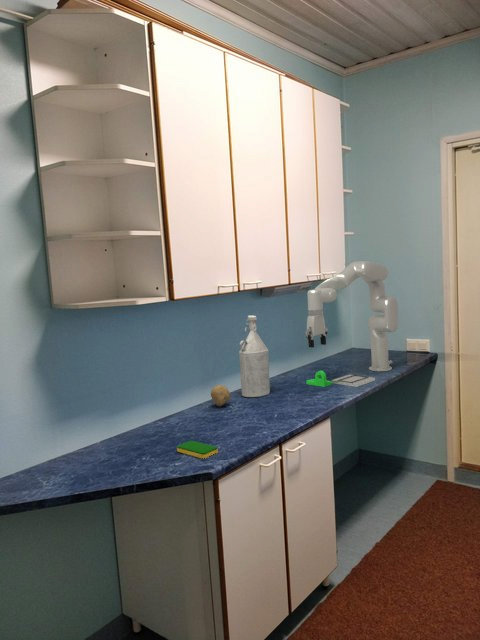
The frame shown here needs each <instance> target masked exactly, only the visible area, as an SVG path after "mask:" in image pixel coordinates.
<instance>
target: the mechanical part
mask: <svg viewBox="0 0 480 640" xmlns="http://www.w3.org/2000/svg"><path fill="white" fill-rule="evenodd" d="M314 375H315V378H312V379H308V380H306V381H305V382H306V385H310V386H317V387H321V388H322V387H323V388H325V387H328V386H332V384H333V383H332V381H331V380H327V374H326V372H324V371H323V370H318V371H317V372H315V374H314Z"/></svg>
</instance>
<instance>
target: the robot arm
mask: <svg viewBox="0 0 480 640" xmlns="http://www.w3.org/2000/svg"><path fill="white" fill-rule="evenodd" d="M388 275H389V271H388V269H387V267H386V266H384V265H383V264H380V263H377V262H373V261H368V260H361V261H359V260H358V261H353V262H351V263H350V264H348V265H347V266H346V267H345V268H344V269H343V270H342V271H340V272H339V273H337V275H334V276H332V277H330V278H328V279H326V280H324V281H323V282H321V283H319V284H318V285H317V286H316V287H315V288H314V289H309V290H308V291H307V310H308V311H307V312H308V316H307V318H306V319H307V320H306V330H305V331H304V334H305V337H306V339H307V342H308V343H307V344H308V348H315V340H314V337H315V336H320V337H319V339H320V345H322V346H323V345H324V346H326V345H327V336H328V330H329V328H328V327H327V326H326V321H325V316H324V303H333V302H335V301H336V299H337V298H338V293H337V291H339V290H343V289H346V288H348V287H349V286H351V285H352V284H353V283H354V282H355V281H356V280H357V279H358V278H361V279H362V280H363V281H364V282H365V283H366V285H367V286H368V290H369V307H370V310H371V311H372V312H375V313H384V314H373V315H371V316H370V317H369V318H368V319H367V320H368V321H367V325H368V330H369V336H370V354H371V356H370V357H371V366H369V367H368V370H369V371H370V372H388V371H392V370H393V369H392V368H393V367H392V366H390V365H391V364H393V360H389V358H390V357H389V338H388V335H387V333H394V332H396V331H397V329H399V328H398V327H399V303H398V301H397V299H396V298H395V296H393V295H386V287H385V284H384V282H383V281H384V280H386V279H387V278H388Z"/></svg>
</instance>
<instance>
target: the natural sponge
mask: <svg viewBox="0 0 480 640" xmlns="http://www.w3.org/2000/svg"><path fill="white" fill-rule="evenodd" d="M210 397H211V400H212V401H213V403H214V404H215V405H216V406H218V407H222V406H224V404H226V403H227V402H229V401H230V399H231V393H230V391H229V389H228V387H226V386H225V385H223V384H217V385H216V386H214V387H212V389H211V390H210Z"/></svg>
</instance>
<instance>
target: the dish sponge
mask: <svg viewBox="0 0 480 640" xmlns="http://www.w3.org/2000/svg"><path fill="white" fill-rule="evenodd" d="M176 450H177V451H176V452H178V453H182V454H184V455H188V456H192V457H195V458H199V459H202V458H203V460H204V458H205V459H207V458H209V456H210V457H211V455H212V456H214V455H216V454H218V453H219V451H218V450H219V449H218V446H215V445H212V444H211V445H210V444H206V443H203V442H198V441H194V440H189V441H187V442H184V443H181V444H179V445H177V446H176ZM215 453H216V454H215ZM213 454H214V455H213Z"/></svg>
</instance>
